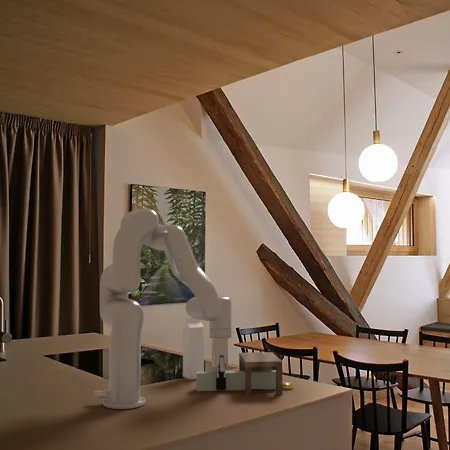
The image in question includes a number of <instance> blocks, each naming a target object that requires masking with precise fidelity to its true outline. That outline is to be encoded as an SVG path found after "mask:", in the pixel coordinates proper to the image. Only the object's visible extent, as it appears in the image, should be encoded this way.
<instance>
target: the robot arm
mask: <svg viewBox="0 0 450 450" xmlns="http://www.w3.org/2000/svg"><path fill="white" fill-rule="evenodd" d="M143 245H145V246H146V247H149V248H152V249H154V250H157V251H164V254H165V257H166V258H167V261H168V264H169V266H170V269H171V271H172V274H173V275H174V277H176V278H177V279H178V281H180V282H181V283H182V284H185V286H187V287H188V289H190V291H191V292H192V293H193V294H194V297H191V298H189V300H187V302H186V304H185V311H186V312H185V313H186V314H187V316H189V318H194V319H199V320H201V321H206V322H209V327H208V328H209V331H208V332H209V333H208V334H209V338H210V339H211V367H212V368H213V369H215V371H217V377H216V389H217V390H221V391H226V390H225V389H226V377H225V371H226V369H228V366H229V365H228V364H229V339H231V338H232V299H231V298H230V297H228V296H219V295H218V292H217V290H216V288H215V285H214V284H213V283H212V281H211V280H210V279H209V277H208V276H207V274H205V272H204V271H203V269H202V268H201V267H200V266H199V264H198V262H197V260H196V257H195V255H194V252H193V250H192V247H191V245H190V242H189V240H188V237H187V235H186V233H185V231H184V229H183V228H182V227H181V226H179V225H177V224H165V225H162V224H161V223H159V216H158V214H157V212H155V210H153V209H151V208H141V209H137V210H132V211H128V212H126V213H125V214H124V215H123V216H122V218H121V219H120V228H119V229H118V231H117V233H116V234H115V237H114V240H113V247H112V260H111V261H112V262H111V264H109V265H108V266H107V267H105V268H104V270H103V271H102V273H101V276H100V279H99V280H100V281H99V315H100V319H101V321H102V322H103V323H104V324H105V325H106V326H107V327H111V331H110V337H109V345H108V348H109V349H108V353H109V354H108V355H109V357H108V361H109V362H108V366H109V367H108V388H107V389H105V390H94V391H93V398H96V399H103V401H102V402H103V403H102V405H103V407H105V408H108V409H114V410H127V409H134V408H135V409H136V408H140V407H142V406H143V405H145V404H146V398H145V397H143V396H141V389H142V388H141V386H142V385H141V383H142V382H141V375H142V373H141V372H142V371H141V369H142V368H141V367H142V366H141V365H142V364H141V363H142V357H141V356H142V332H143V327H144V320H145V316H144V313H145V312H144V310H143V308H142V306H141V304H140V303H138V301H136V300H134V299H131V298H129V294H130V295H131V294H133V293H135V292H136V291H137V290H138V289H139V287H140V285H141V253H142V252H141V251H142V247H143Z"/></svg>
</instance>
